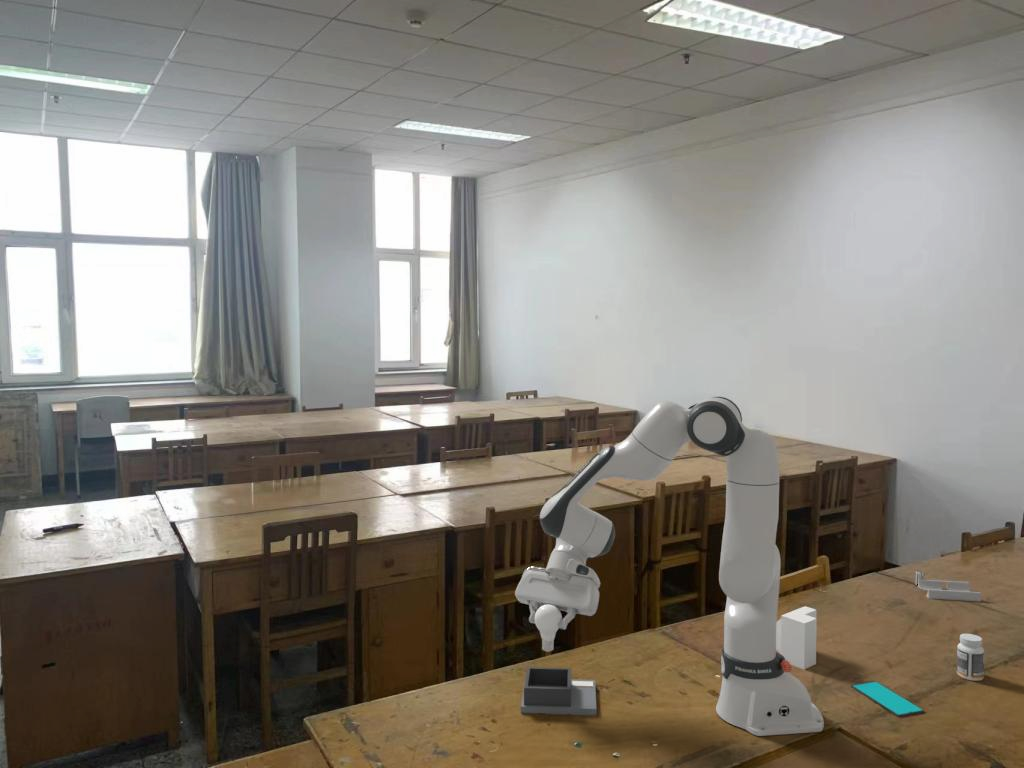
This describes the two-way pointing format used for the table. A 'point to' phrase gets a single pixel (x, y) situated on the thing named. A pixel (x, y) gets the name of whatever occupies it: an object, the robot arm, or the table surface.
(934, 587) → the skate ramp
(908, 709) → the smartphone
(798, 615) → the white notched block
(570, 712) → the socket board
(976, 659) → the pill bottle
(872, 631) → the table surface
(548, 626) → the lightbulb
